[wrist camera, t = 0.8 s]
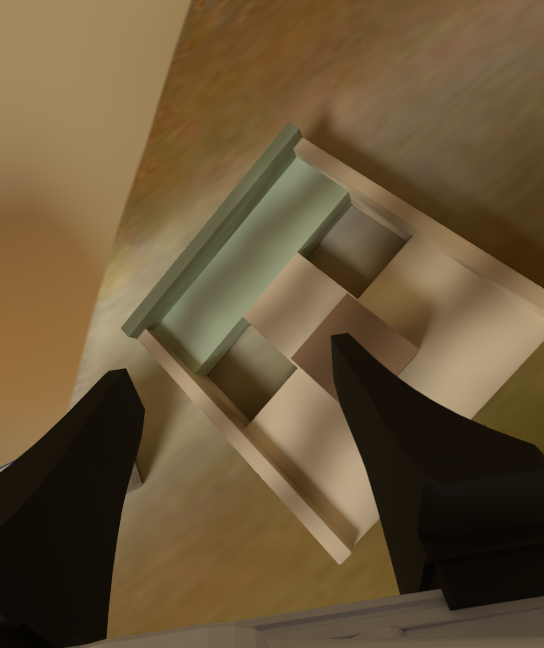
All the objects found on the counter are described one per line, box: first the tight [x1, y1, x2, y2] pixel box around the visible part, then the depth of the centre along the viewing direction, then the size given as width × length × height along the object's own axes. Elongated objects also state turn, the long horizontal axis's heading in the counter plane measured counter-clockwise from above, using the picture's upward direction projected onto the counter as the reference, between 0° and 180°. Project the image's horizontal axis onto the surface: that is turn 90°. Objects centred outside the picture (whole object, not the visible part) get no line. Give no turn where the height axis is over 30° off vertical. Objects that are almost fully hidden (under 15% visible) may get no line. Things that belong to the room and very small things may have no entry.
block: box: [291, 293, 419, 404], centre depth 22 cm, size 5×5×3 cm
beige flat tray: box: [121, 122, 544, 565], centre depth 25 cm, size 21×19×4 cm
